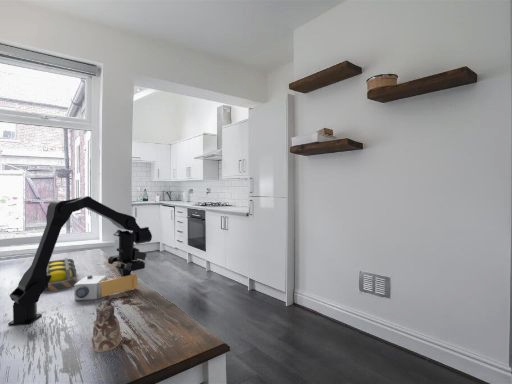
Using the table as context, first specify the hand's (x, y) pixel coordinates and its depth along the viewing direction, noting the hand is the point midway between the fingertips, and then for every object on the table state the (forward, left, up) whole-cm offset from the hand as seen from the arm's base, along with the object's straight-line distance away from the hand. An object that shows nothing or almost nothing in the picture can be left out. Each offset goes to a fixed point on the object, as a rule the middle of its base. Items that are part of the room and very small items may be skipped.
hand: (126, 282), depth 124 cm
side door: (-5, +2, -3) cm, 6 cm away
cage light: (+16, +35, -3) cm, 39 cm away
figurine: (-45, -9, -3) cm, 46 cm away
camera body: (-5, +12, -3) cm, 13 cm away
